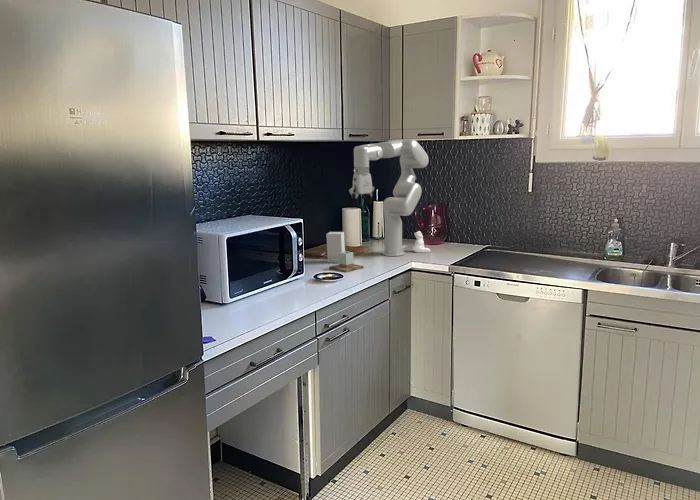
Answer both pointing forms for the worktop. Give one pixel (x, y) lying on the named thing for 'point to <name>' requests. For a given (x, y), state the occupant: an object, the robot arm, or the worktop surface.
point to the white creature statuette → (420, 244)
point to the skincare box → (335, 246)
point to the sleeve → (346, 259)
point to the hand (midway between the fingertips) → (362, 204)
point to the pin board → (346, 268)
